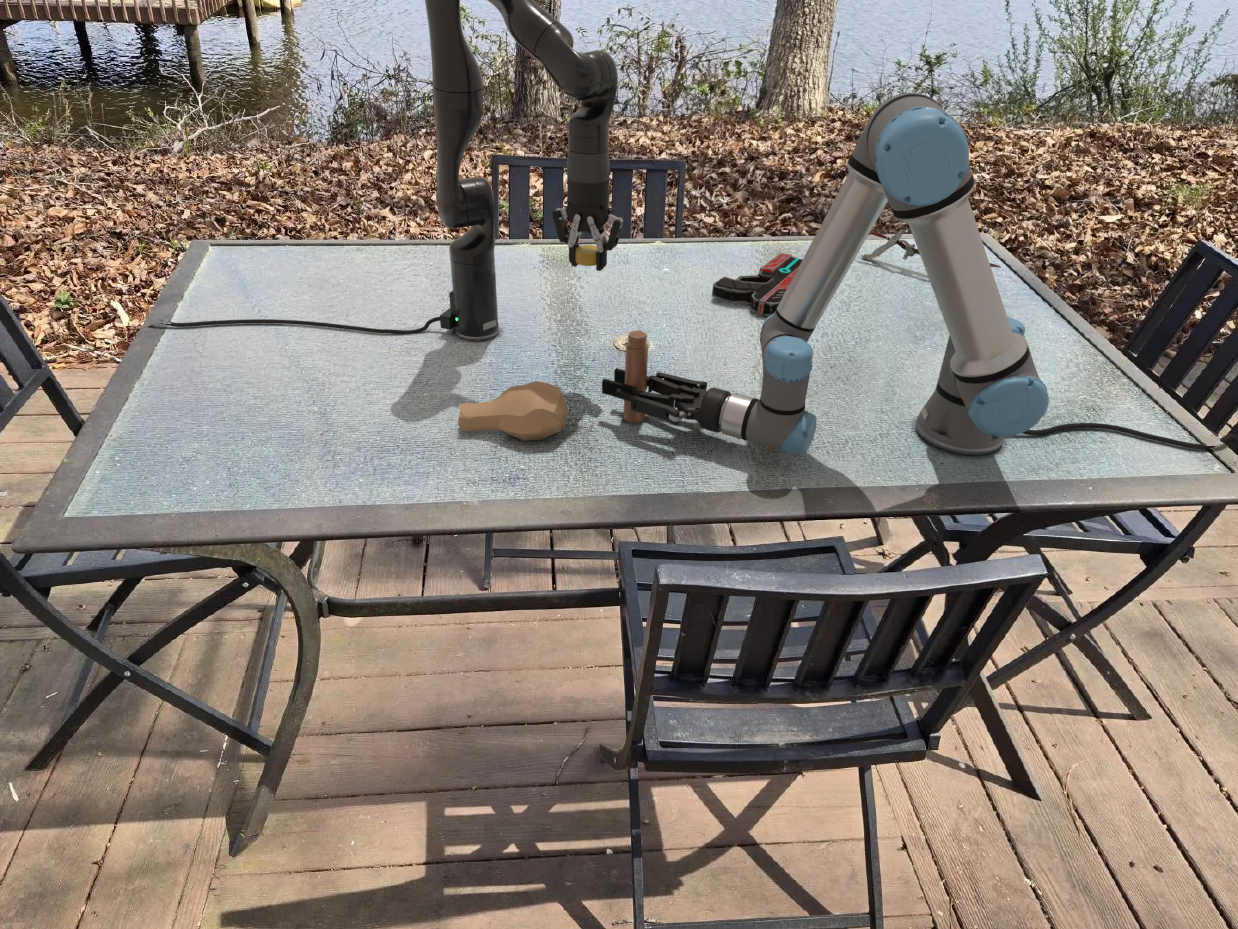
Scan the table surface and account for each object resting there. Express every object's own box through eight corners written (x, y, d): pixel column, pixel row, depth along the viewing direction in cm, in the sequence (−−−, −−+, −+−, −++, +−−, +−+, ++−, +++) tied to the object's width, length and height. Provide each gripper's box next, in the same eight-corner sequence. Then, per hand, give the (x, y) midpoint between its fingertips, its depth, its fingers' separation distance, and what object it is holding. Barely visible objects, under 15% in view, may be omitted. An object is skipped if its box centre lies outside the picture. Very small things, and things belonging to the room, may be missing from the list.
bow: (994, 294, 218) (1005, 255, 212) (991, 296, 216) (1002, 257, 211) (857, 254, 239) (863, 218, 233) (853, 256, 238) (860, 219, 232)
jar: (641, 424, 162) (645, 340, 152) (621, 421, 163) (623, 337, 153) (647, 414, 165) (651, 331, 156) (626, 410, 166) (629, 328, 156)
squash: (570, 447, 155) (562, 408, 149) (459, 455, 156) (447, 417, 150) (573, 407, 163) (565, 369, 157) (467, 416, 164) (456, 378, 158)
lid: (601, 266, 163) (601, 253, 161) (576, 266, 162) (576, 253, 161) (599, 257, 167) (599, 244, 165) (574, 257, 166) (574, 244, 165)
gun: (708, 284, 207) (784, 305, 199) (760, 245, 229) (831, 262, 221) (706, 302, 209) (781, 323, 201) (758, 261, 231) (828, 278, 223)
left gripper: (542, 175, 155) (544, 267, 164) (617, 185, 150) (615, 280, 160) (560, 165, 161) (562, 255, 170) (633, 175, 156) (630, 266, 166)
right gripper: (705, 453, 149) (586, 418, 158) (741, 410, 162) (629, 379, 171) (708, 415, 145) (586, 381, 154) (746, 374, 158) (631, 344, 167)
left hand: (587, 266), depth 165 cm, fingers closed on lid, 4 cm apart
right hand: (609, 380), depth 162 cm, fingers closed on jar, 4 cm apart
